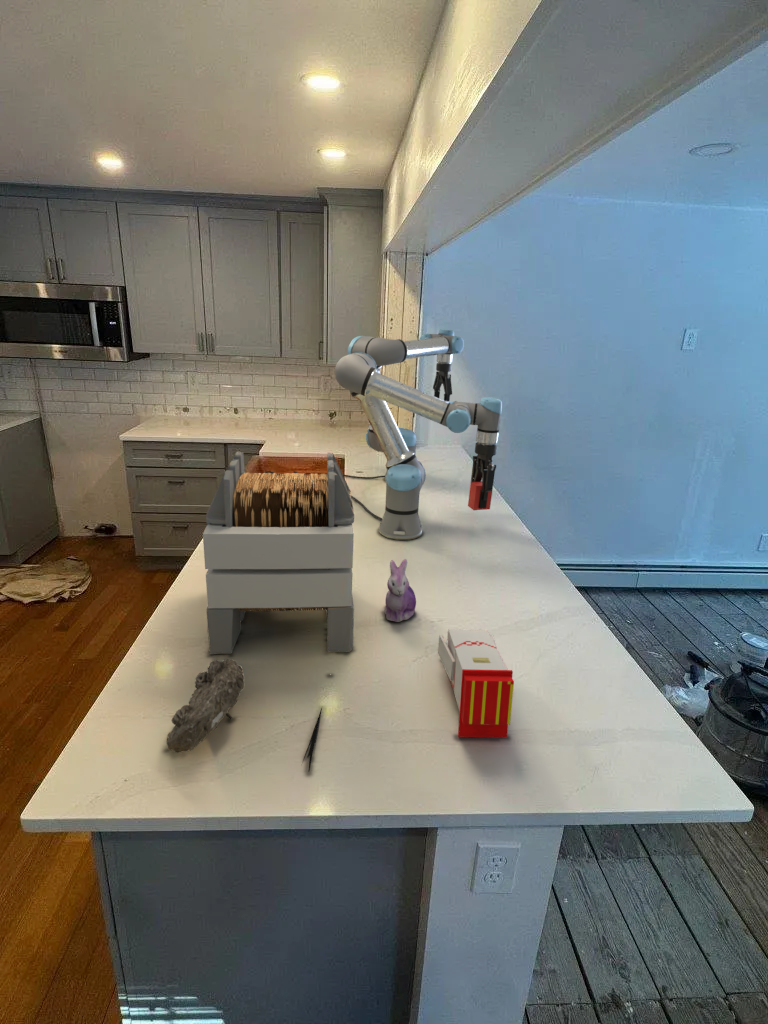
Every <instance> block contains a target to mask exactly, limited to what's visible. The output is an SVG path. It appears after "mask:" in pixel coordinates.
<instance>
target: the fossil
mask: <svg viewBox="0 0 768 1024" xmlns="http://www.w3.org/2000/svg"><path fill="white" fill-rule="evenodd" d="M243 670H244V669H243V667H242V665H240V664H237V662H236V661H235V660H234V659H232V658H231V659H227V658H226V659H224V660H223V661H222V660H217V659H212V660H211V661H210V663H209V665H208V666H207V671H201V672H199V673H198V674H197V675H196V676H195V680H194V684H195V685H194V687H195V689H194V690H193V693H192V694H191V697H190V698H189V700H188V704H184V705H182V706H181V707H180V709H177V710H176V711H175V713H174V715H173V716H172V718H171V723H172V724H173V727H172V730H171V731H170V732H168V734H167V738H166V741H167V742H166V745H167V749H168V750H169V751H173V752H174V753H176V754H178V753H182V752H188V751H189V752H192V751H193V750H195V748H196V747H197V746H199V744H200V743H201V742H203V741H204V740H205V739H206V738H207V737H208V736H209V735H210V734H211V733H212V732H214V730H215V729H217V727H218V726H219V724H220V722H221V721H222V720H223V719H224V718H225V716H226V717H227V719H229V720H233V717H232V715H230V714H229V710H230V709H231V708H234V706H235V704H236V703H237V702H238V699H239V697H240V695H241V693H242V691H243V690H245V689H244V688H245V675H244V671H243Z"/></svg>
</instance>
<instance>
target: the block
mask: <svg viewBox="0 0 768 1024" xmlns="http://www.w3.org/2000/svg"><path fill="white" fill-rule="evenodd" d="M480 490H482V481H481V482H471V481H470V485H469V492H468V500H467V501H468V502H467V507H468V508H470V509H471V510H473V511H484V510H491V503H492V496H493V490H492V491H489V492H488V498H487V505H486V508H480V509H479V500H480Z"/></svg>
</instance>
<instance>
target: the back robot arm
mask: <svg viewBox="0 0 768 1024" xmlns="http://www.w3.org/2000/svg"><path fill="white" fill-rule="evenodd" d="M464 348H465V341H464V339H463V337H461V336H457V335H455V331H454V330H452V329H440V330H438V333H424V334H422V335H421V336H420V337H419V339H412V340H411V339H410V340H403V339H401V338H398V339H392V338H391V339H390V338H385V337H377V336H368V335H358V336H355V337H354V338H352V340H351V341H350V343H349V344H348V347H347V355H350V354H352V353H355V352H362V353H365V354H368V355H369V356H371V357H372V358H373V359H374V361H375V363H376V365H377V371H378V373H379V374H381V368H382V367H383V366H389V365H390V366H391V365H394V364H395V365H396V364H401V363H404V362H405V361H406V360H411V359H418V358H419V359H420V358H424V357H432V356H436V368H435V370H436V373H435V378H434V382H433V386H432V390H433V391H434V392H433V396H435V397H437V398H439V399H440V397H441V387H442V386H443V391H444V393H443V400H444V401H447V402H448V401H451V400H450V399H451V395H453V388H452V374H451V372H452V369H453V358H454V354H456V355H457V354H460V353H462V351H463V350H464ZM449 372H450V373H449ZM398 429H399V431H400V433H401V435H402V437H403V439H404V442H405V444H406V446H407V448H408V450H410V451H413V452H414V453H415V454H416V452H417V434H416V432H414V430H411V429H409V428H405V427H404V428H403V427H398ZM365 441H366V444H367V446H368V447H369V448H370V449H371V450H374V451H375V452H378V453H383V454H384V452H383V450H382V448H381V446H380V444H379V442H378V440H377V438H376V435H375V433H374V431H373V429H372V427H371V425H370V423H369V424H368V428H367V430H366V433H365ZM387 472H388V470H387V469H386V471H385V474H384V475H377V476H358V475H357V476H355V475H349V474H343V476H344V477H346V478H353V479H360V480H361V479H363V480H371V479H373V480H374V479H381V478H384V481H385V482H386V476H387ZM263 473H271V474H272V473H275V472H274V471H271V470H266V471H264V472H263ZM303 473H304V474H306V476H307V474H308V476H309V474H317V475H321V474H327V472H303ZM278 474H279V475H280V474H281V475H282V474H283V475H284V473H277V475H278Z"/></svg>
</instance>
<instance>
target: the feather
mask: <svg viewBox="0 0 768 1024" xmlns="http://www.w3.org/2000/svg"><path fill="white" fill-rule="evenodd" d="M329 675H330V676H331V675H332V674H331V673H330V674H329ZM322 710H323V707H321V708H320V710H319V713H318V716H317V719H316V723H315V725H314V728H313V731H312V733H311V737H310V739H309V742H308V745H307V748H306V751H305V754H304V757H303V760H302V763H301V767H302V765H303V763H304V761H305V758H308V759H309V760H308V762H307V763H308V764H307V766H308V771H310V770H311V766H312V765H311V764H312V760H313V757H315V756H314V755H315V751H316V749H315V746H317V739H318V733H319V729H320V722H321V717H322V712H323V711H322ZM313 754H314V755H313ZM306 755H307V757H306Z"/></svg>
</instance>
